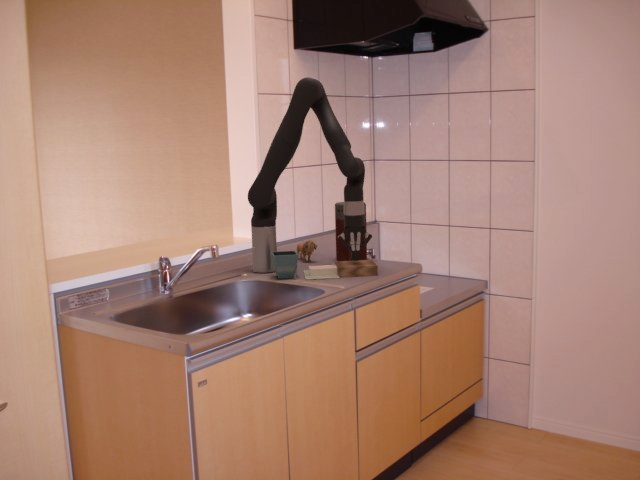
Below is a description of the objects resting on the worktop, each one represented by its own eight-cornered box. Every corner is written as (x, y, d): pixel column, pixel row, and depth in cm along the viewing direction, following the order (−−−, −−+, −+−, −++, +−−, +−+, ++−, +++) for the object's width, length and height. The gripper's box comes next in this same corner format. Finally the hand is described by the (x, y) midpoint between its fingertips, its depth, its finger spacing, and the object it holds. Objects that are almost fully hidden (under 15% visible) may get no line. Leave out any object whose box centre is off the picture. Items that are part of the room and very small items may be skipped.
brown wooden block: (338, 277, 257) (338, 267, 257) (335, 270, 269) (335, 261, 269) (377, 275, 259) (377, 265, 258) (372, 268, 270) (372, 259, 270)
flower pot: (295, 274, 265) (294, 250, 263) (299, 279, 256) (298, 254, 255) (271, 275, 263) (270, 251, 262) (274, 280, 255) (273, 255, 253)
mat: (305, 279, 255) (305, 279, 254) (303, 271, 270) (302, 270, 270) (339, 278, 256) (339, 277, 255) (334, 269, 271) (334, 268, 271)
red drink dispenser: (349, 256, 297) (348, 189, 292) (367, 260, 288) (366, 190, 283) (332, 259, 291) (330, 190, 287) (349, 263, 283) (348, 192, 278)
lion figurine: (319, 262, 287) (319, 239, 286) (308, 263, 284) (308, 241, 283) (299, 257, 299) (298, 236, 298) (288, 259, 296) (287, 237, 295)
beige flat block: (310, 276, 260) (309, 269, 259) (309, 272, 265) (308, 266, 265) (337, 274, 260) (337, 268, 260) (336, 271, 266) (335, 264, 266)
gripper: (337, 215, 256) (338, 263, 259) (373, 213, 257) (375, 261, 260) (334, 212, 263) (336, 259, 266) (370, 211, 264) (372, 257, 267)
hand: (355, 260), depth 263 cm, fingers closed
